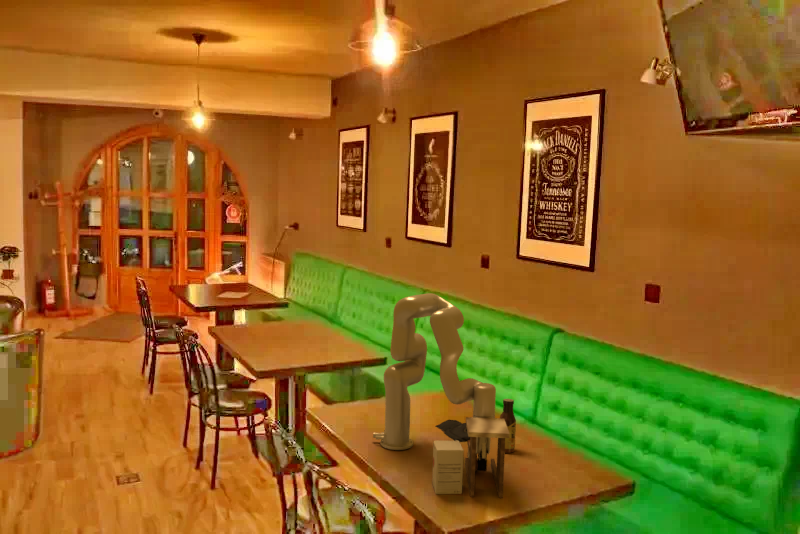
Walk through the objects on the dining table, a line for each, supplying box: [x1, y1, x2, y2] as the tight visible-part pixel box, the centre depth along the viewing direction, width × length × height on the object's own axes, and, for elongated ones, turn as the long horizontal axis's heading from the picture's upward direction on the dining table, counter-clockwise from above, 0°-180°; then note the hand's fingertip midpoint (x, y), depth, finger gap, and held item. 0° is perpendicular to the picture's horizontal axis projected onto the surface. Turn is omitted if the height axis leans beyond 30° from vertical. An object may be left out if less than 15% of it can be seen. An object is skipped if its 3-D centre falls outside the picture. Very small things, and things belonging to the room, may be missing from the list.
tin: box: [466, 440, 478, 472], centre depth 246 cm, size 15×3×8 cm, turn 178°
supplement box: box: [431, 440, 465, 495], centre depth 227 cm, size 9×9×15 cm
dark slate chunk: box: [435, 419, 470, 443], centre depth 280 cm, size 15×22×5 cm
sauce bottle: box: [499, 398, 517, 454], centre depth 262 cm, size 7×6×20 cm
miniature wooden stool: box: [464, 416, 510, 499], centre depth 234 cm, size 13×27×22 cm, turn 178°
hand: (481, 470), depth 241 cm, fingers closed
